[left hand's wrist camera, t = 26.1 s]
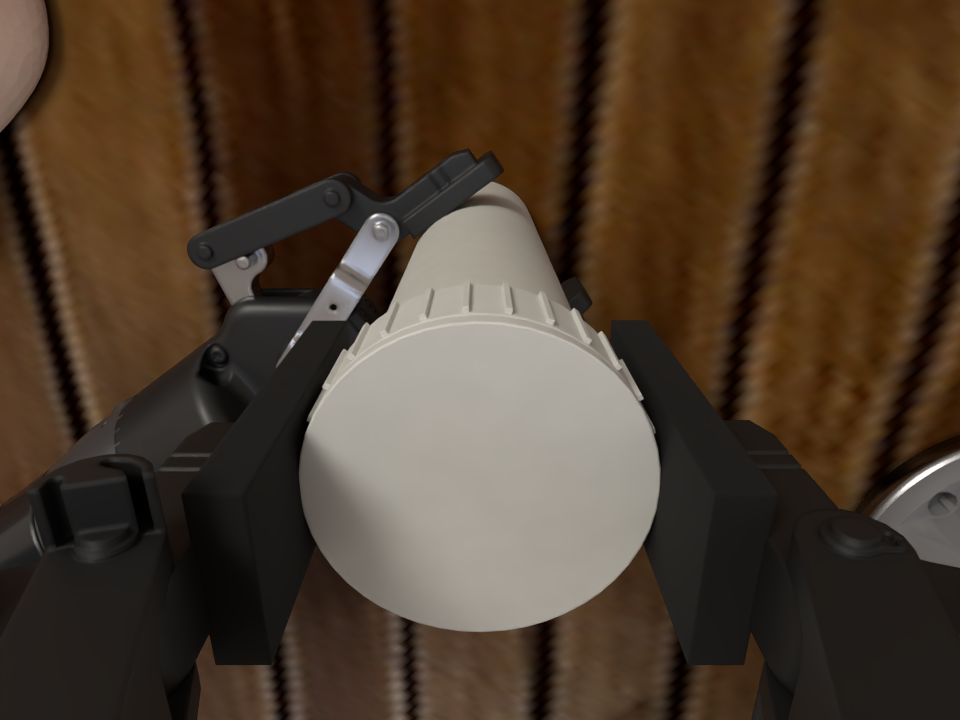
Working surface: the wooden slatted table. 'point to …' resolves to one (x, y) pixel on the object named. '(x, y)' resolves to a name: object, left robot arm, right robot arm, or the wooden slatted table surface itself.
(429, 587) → the lid
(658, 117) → the wooden slatted table surface
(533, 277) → the jar
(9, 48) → the anatomical model
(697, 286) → the wooden slatted table surface
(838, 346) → the wooden slatted table surface
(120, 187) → the wooden slatted table surface
